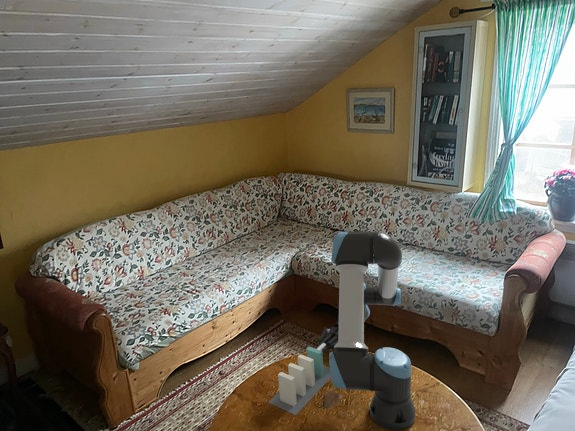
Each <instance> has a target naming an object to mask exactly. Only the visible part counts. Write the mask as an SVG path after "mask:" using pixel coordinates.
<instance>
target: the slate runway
mask: <svg viewBox="0 0 575 431" xmlns="http://www.w3.org/2000/svg"><path fill="white" fill-rule="evenodd" d="M323 366H324V375H323V377H320V376H318V375H315V385H314V386H313V387H311V386H309V385H306V394H305V395H304V396H301V395H299V394H297V393H296V401H297V404H296V405H295V406H292V405H289V404H287V403H285V402H283V401H281V400H280V392H279V391H278V392H277V393H276V394H275V395H274V396H273V397H272V398H271V399H270V400H269V401H268V403H269V404H271V405H273V406H275V407H277V408H279V409H282V410H284V411H286V412H288V413H289V414H292V415H294V416H296V415H297V414H298V413H299V412H301V410H303V408H304V407H305V406H306V405H307V404H308V403H309V402H310V400H311V399H312V398H313V397H315V395H316V394H317V393H318V392H319V391H320V390H321V389H322V387H324V386H325V384H326V383H327V382H328V381H329V380H330V379H331V374H330V366H329V367H328V366H325V365H323Z"/></svg>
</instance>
